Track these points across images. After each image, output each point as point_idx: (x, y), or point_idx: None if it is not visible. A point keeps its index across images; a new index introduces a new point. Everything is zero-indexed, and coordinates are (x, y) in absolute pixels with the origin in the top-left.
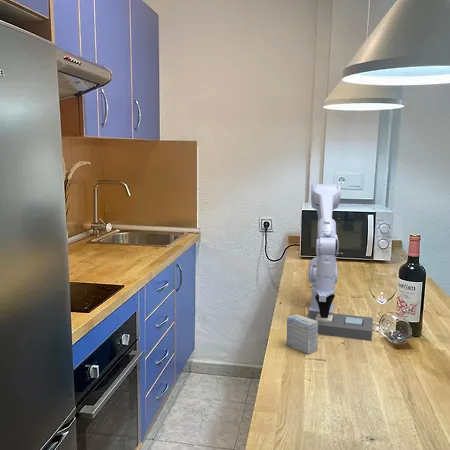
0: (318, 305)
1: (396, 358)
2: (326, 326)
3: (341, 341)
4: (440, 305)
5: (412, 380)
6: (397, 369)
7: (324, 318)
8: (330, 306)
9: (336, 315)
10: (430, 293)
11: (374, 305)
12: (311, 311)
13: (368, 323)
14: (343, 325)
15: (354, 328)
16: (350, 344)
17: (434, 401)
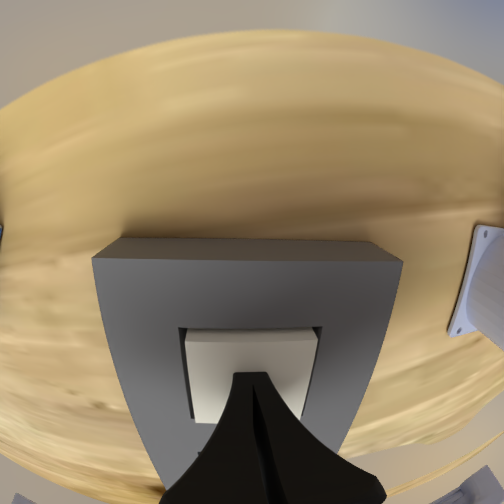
0: (207, 445)
1: (96, 475)
2: (125, 391)
3: (109, 404)
4: (439, 474)
5: (33, 460)
6: (50, 460)
7: (220, 392)
8: (480, 331)
9: (327, 418)
10: (489, 440)
11: (475, 408)
12: (387, 278)
13: None
14: (175, 450)
15: (162, 470)
16: (103, 423)
17: (7, 454)
